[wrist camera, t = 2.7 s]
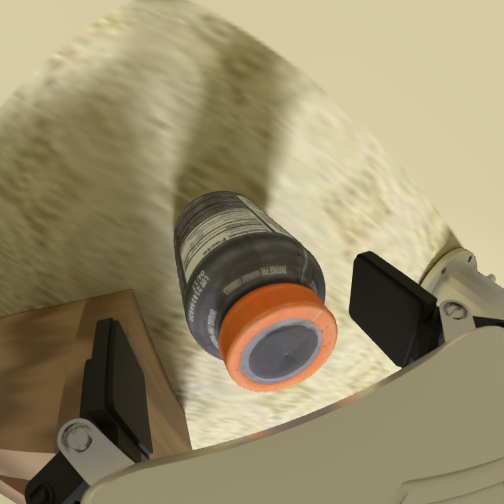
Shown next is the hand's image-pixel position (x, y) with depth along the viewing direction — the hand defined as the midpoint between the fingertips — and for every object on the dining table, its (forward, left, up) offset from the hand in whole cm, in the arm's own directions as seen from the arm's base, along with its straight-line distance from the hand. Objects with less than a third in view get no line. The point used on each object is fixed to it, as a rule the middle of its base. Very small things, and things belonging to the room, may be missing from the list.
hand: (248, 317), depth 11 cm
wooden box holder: (+13, +10, -9) cm, 19 cm away
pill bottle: (-1, 0, -9) cm, 9 cm away
